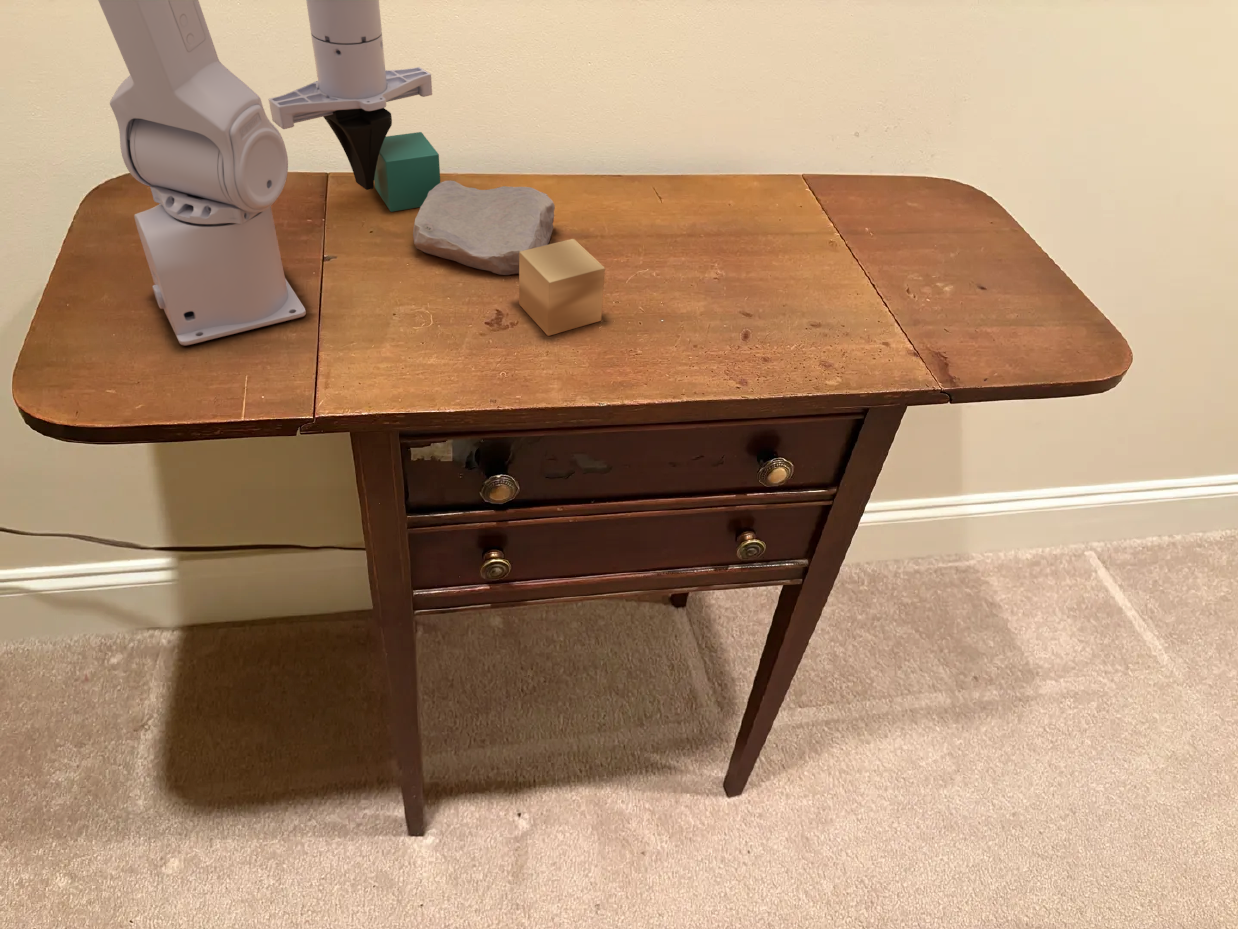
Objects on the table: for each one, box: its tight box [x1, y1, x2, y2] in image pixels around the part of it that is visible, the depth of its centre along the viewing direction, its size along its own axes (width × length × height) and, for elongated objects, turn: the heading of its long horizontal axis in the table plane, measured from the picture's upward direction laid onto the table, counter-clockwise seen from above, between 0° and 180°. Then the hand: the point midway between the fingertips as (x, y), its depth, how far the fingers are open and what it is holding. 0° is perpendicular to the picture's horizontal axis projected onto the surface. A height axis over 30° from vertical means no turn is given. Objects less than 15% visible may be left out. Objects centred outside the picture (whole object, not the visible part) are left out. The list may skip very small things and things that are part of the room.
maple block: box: [518, 238, 606, 337], centre depth 74 cm, size 5×5×5 cm
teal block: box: [374, 131, 441, 213], centre depth 87 cm, size 5×5×5 cm
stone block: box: [412, 180, 556, 276], centre depth 82 cm, size 12×5×10 cm
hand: (364, 185), depth 86 cm, fingers closed
